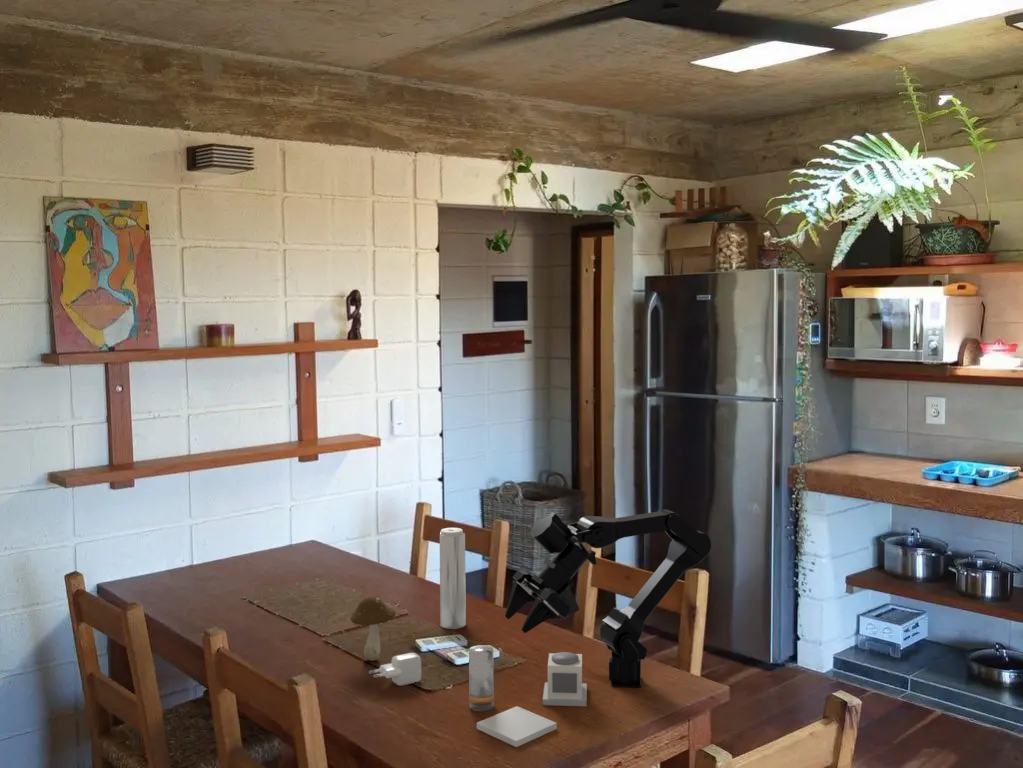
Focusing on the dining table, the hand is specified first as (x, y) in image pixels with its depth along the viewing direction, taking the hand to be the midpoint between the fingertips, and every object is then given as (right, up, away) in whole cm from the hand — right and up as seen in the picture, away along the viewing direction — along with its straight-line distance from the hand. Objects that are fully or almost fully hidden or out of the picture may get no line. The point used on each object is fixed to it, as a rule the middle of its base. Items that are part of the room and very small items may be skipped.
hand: (514, 624), depth 201 cm
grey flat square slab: (0, -17, -12) cm, 21 cm away
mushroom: (-33, -14, +25) cm, 43 cm away
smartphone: (-14, -14, +28) cm, 35 cm away
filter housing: (+11, -16, +3) cm, 19 cm away
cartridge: (-7, -16, -1) cm, 18 cm away
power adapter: (-26, -16, +10) cm, 32 cm away
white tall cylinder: (-16, -12, +48) cm, 52 cm away
